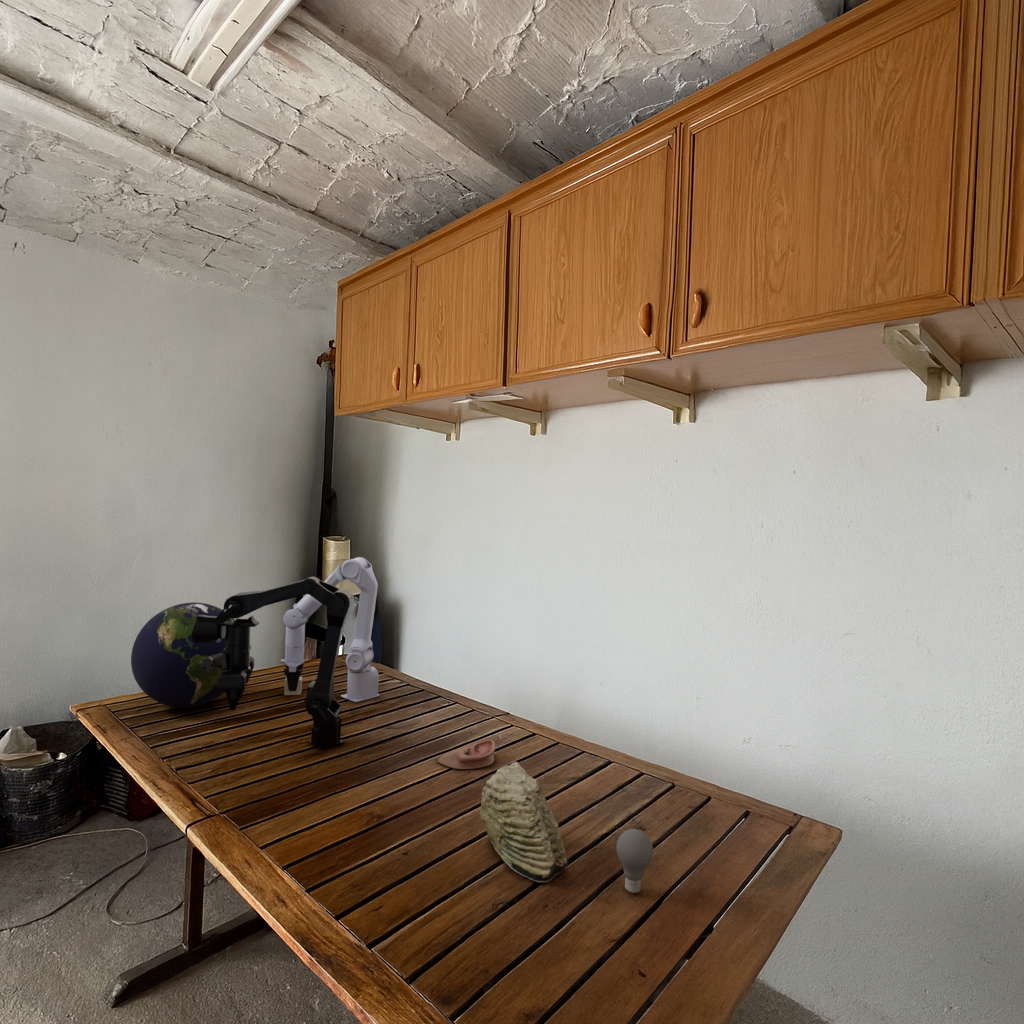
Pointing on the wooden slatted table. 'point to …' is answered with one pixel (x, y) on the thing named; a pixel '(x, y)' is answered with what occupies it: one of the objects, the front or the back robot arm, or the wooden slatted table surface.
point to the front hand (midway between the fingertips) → (235, 704)
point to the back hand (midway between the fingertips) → (293, 688)
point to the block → (297, 692)
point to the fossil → (522, 824)
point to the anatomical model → (470, 756)
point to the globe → (176, 657)
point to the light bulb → (634, 857)
